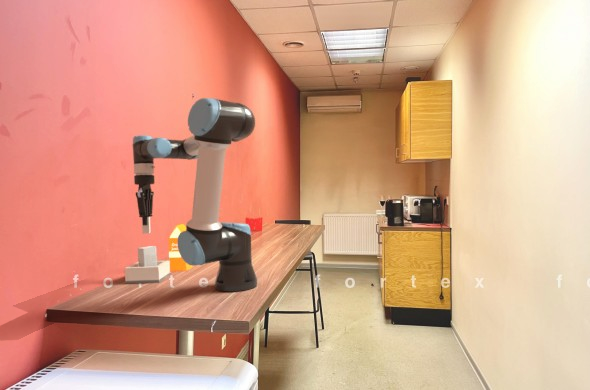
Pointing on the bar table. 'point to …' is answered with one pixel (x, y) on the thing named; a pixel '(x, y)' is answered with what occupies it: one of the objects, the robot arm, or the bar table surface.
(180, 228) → the orange juice
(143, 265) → the skincare box
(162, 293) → the bar table surface
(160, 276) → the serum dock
